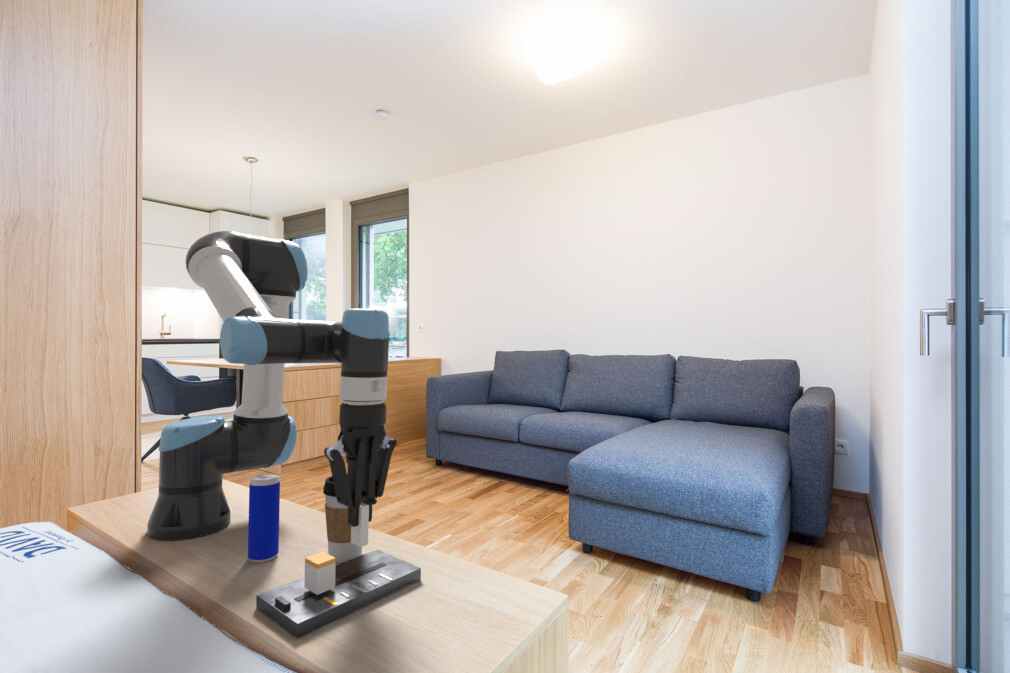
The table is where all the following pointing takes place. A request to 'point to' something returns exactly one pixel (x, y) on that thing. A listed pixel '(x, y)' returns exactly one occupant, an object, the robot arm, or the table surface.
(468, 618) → the table surface
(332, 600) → the panel
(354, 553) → the coffee cup
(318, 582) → the fader tab
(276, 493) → the beverage can
